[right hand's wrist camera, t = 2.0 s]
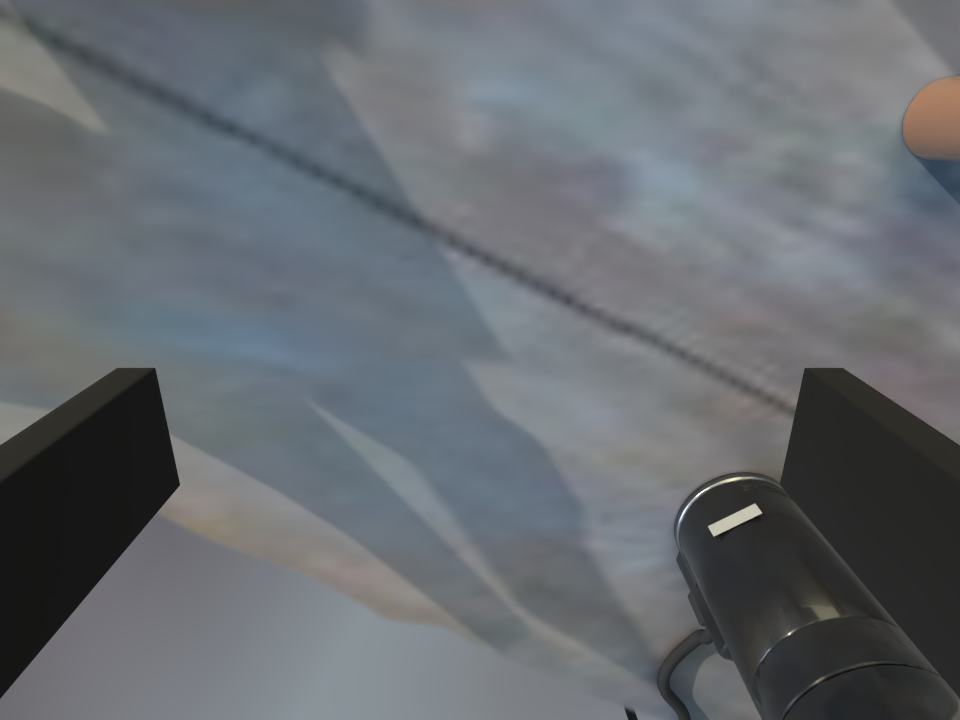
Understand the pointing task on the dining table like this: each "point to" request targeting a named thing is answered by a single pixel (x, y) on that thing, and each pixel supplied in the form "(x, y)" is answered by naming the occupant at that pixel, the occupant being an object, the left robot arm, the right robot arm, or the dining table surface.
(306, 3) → the dining table surface
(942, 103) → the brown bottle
